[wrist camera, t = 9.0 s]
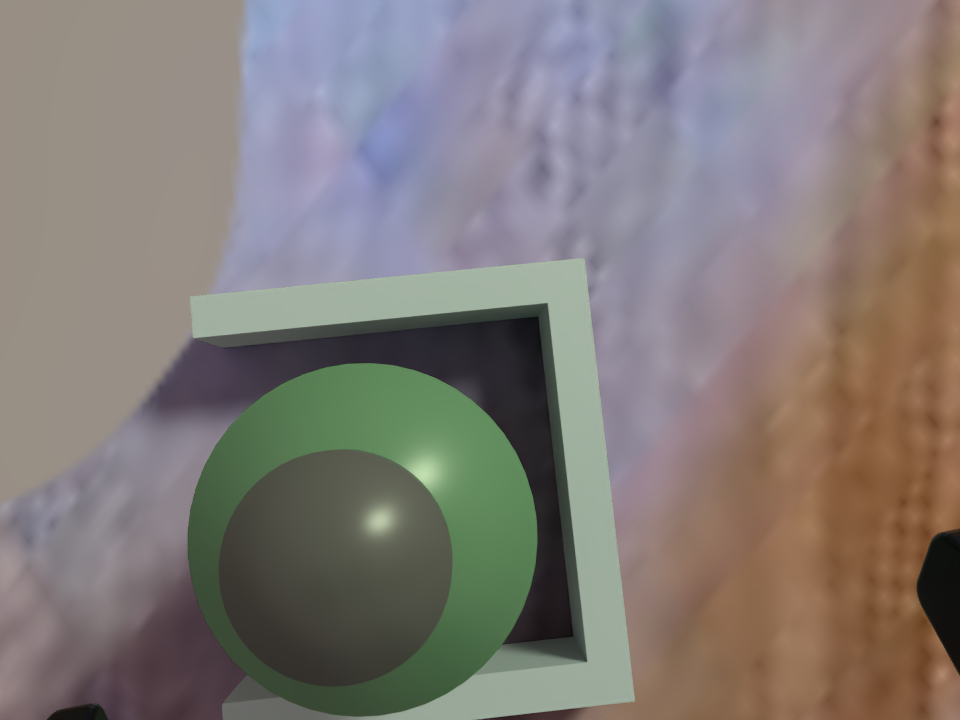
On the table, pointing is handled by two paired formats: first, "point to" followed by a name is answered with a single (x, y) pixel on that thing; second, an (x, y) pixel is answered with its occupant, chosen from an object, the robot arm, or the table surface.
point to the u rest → (576, 449)
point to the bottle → (362, 539)
